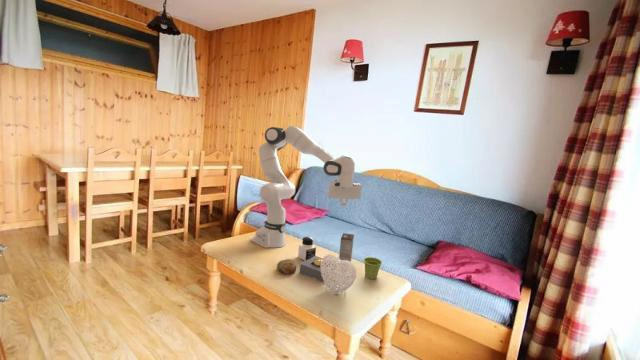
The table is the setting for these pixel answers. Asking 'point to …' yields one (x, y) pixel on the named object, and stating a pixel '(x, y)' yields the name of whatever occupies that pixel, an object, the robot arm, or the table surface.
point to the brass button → (317, 261)
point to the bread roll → (286, 267)
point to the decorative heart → (337, 274)
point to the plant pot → (372, 267)
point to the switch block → (312, 269)
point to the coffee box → (346, 247)
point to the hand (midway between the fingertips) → (343, 205)
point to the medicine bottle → (306, 249)
